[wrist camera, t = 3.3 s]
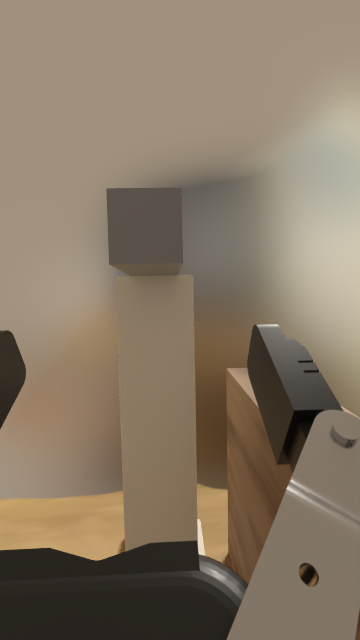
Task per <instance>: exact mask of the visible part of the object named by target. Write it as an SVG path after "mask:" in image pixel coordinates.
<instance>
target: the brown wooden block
mask: <svg viewBox="0 0 360 640" xmlns="http://www.w3.org/2000/svg"><path fill="white" fill-rule="evenodd" d="M341 408H342V409H343V411H344V412H347V413H350V414H352V415H354V414H353V413H351V412H350V411H348V410H346V409H345V408H343V407H342V406H341ZM354 416H356V415H354ZM356 417H357V416H356ZM357 418H359V417H357ZM359 419H360V418H359ZM227 449H228V450H227V455H228V457H227V458H228V552H229V556H230V560H231V564H232V569H233V571H234V572H235V573H237V574H238V575H239V576H240V577H242V578H243V579H244V580H245V581H246V582H247V583H248V584H249V582H250V580H251V577H252V575H253V572H254V570H255V567H256V565H257V562H258V559H259V557H260V554H261V552H262V549H263V547H264V544H265V542H266V539H267V537H268V534H269V532H270V529H271V527H272V524H273V522H274V519H275V517H276V514H277V512H278V509H279V507H280V504H281V502H282V499H283V497H284V494H285V492H286V489H287V487H288V484H289V482H290V480H291V477H292V475H293V473H292V470H291V467H290V464H285V465H277V464H276V461H275V457H274V454H273V451H272V448H271V445H270V442H269V439H268V435H267V432H266V429H265V426H264V423H263V420H262V417H261V414H260V410H259V407H258V404H257V401H256V398H255V395H254V392H253V389H252V385H251V382H250V379H249V375H248V369H247V368H227ZM355 640H360V610H359V616H358V623H357V629H356V636H355Z"/></svg>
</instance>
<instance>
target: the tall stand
mask: <svg viewBox="0 0 360 640" xmlns="http://www.w3.org/2000/svg"><path fill="white" fill-rule="evenodd" d="M115 280H116V307H117V335H118V362H119V390H120V417H121V442H122V443H121V445H122V470H123V471H122V472H123V500H124V527H125V552H126V551H128V550H131V549H134V548H137V547H140V546H142V545H145V544H148V543H156V542H176V541H196V540H198V552H199V554H200V555H204V556H205V551H204V544H203V537H202V530H201V522H200V519H197V471H196V415H195V361H194V308H193V307H194V304H193V275H160V276H116V277H115Z"/></svg>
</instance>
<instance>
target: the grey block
mask: <svg viewBox="0 0 360 640" xmlns="http://www.w3.org/2000/svg"><path fill="white" fill-rule="evenodd" d="M181 197H182V196H181V188H127V189H126V188H124V189H123V188H116V189H107V214H108V242H109V264H110V265H111V266H113V267H115V268H117V269H119V270H121V271H122V272H124V273H126V274H128V275H129V276H160V275H178V274H179V272H180V269H181V267H182V264H183V247H182V198H181Z"/></svg>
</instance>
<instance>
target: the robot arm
mask: <svg viewBox="0 0 360 640" xmlns="http://www.w3.org/2000/svg"><path fill="white" fill-rule="evenodd" d="M247 369H248V375H249V379H250V382H251V385H252V389H253V392H254V395H255V398H256V401H257V404H258V407H259V410H260V414H261V417H262V420H263V423H264V426H265V429H266V432H267V435H268V439H269V442H270V445H271V448H272V451H273V454H274V457H275V461H276V464H277V465H285V464H290V467H291V470H292V473H293V475H292V477H291V480H290V482H289V484H288V487H287V489H286V492H285V494H284V497H283V499H282V502H281V504H280V507H279V509H278V512H277V514H276V517H275V519H274V522H273V524H272V527H271V529H270V532H269V534H268V537H267V539H266V542H265V544H264V547H263V549H262V552H261V554H260V557H259V559H258V562H257V565H256V567H255V570H254V572H253V575H252V577H251V580H250V582H249V584H248V583H247V582H246V581H245V580H244V579H243V578H242V577H240V576H239V575H238V574H237V573H235V572H234V571H233V570H232V569H230V568H229V567H227V566H226V565H224V564H222V563H221V562H219V561H217V560H214V559H212V558H210V557H207V556H204V555H200V554H199V552H198V540H196V541H176V542H156V543H148V544H145V545H142V546H140V547H137V548H134V549H131V550H128V551H126V552H123V553H120V554H117V555H114V556H112V557H109V558H106V559H103V560H99V561H95V560H90V559H87V558H83V557H80V556H76V555H73V554H69V553H66V552H62V551H58V550H55V549H51V548H38V549H18V550H0V640H355V636H356V629H357V623H358V616H359V610H360V419H359V418H357V417H356V416H354V415H352V414H350V413H347V412H344V411H343V409H342V408H341V406H340V404H339V403H338V401H337V399H336V398H335V396H334V394H333V393H332V391H331V389H330V388H329V386H328V384H327V383H326V381H325V379H324V378H323V376H322V374H321V373H319V369H318V368H317V366H316V364H315V363H313V359H312V358H311V356H310V354H309V353H308V351H307V349H306V348H305V347H304V346H302V345H301V344H300V343H298V342H297V341H296V340H295V339H286V338H285V336H284V334H283V333H282V330H281V329H280V327H279V326H278V324H265V325H264V324H262V325H254V327H253V329H252V336H251V341H250V347H249V354H248V361H247ZM25 377H26V368H25V364H24V362H23V359H22V356H21V354H20V351H19V349H18V346H17V344H16V341H15V338H14V336H13V334H12V333H11V332H10V331H0V429H1V427H2V425H3V423H4V421H5V419H6V417H7V415H8V413H9V411H10V409H11V407H12V405H13V403H14V402H15V400H16V398H17V396H18V394H19V392H20V390H21V388H22V386H23V384H24V381H25Z"/></svg>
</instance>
